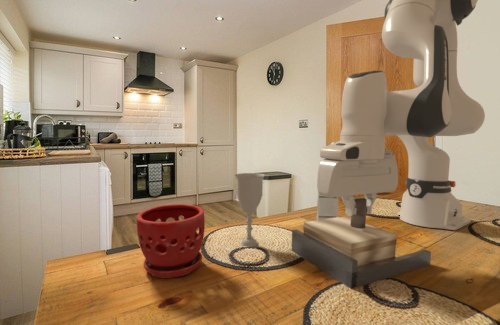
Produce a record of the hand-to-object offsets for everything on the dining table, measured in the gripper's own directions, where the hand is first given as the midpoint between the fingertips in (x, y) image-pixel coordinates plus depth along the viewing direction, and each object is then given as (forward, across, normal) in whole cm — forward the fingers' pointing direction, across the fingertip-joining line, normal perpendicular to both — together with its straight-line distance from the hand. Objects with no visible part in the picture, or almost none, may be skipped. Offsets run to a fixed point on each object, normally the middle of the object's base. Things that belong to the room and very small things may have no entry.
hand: (358, 214), depth 61 cm
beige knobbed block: (+10, +3, 0) cm, 10 cm away
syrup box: (+11, -8, -19) cm, 24 cm away
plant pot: (+11, +37, -14) cm, 41 cm away
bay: (+11, 0, 0) cm, 11 cm away
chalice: (+11, +18, -17) cm, 27 cm away
